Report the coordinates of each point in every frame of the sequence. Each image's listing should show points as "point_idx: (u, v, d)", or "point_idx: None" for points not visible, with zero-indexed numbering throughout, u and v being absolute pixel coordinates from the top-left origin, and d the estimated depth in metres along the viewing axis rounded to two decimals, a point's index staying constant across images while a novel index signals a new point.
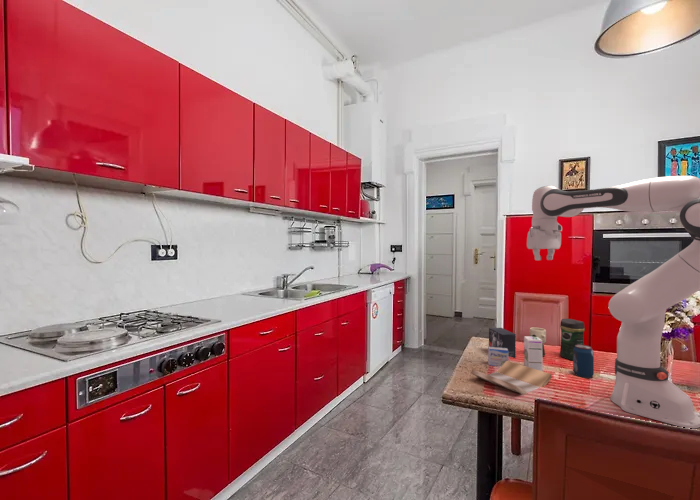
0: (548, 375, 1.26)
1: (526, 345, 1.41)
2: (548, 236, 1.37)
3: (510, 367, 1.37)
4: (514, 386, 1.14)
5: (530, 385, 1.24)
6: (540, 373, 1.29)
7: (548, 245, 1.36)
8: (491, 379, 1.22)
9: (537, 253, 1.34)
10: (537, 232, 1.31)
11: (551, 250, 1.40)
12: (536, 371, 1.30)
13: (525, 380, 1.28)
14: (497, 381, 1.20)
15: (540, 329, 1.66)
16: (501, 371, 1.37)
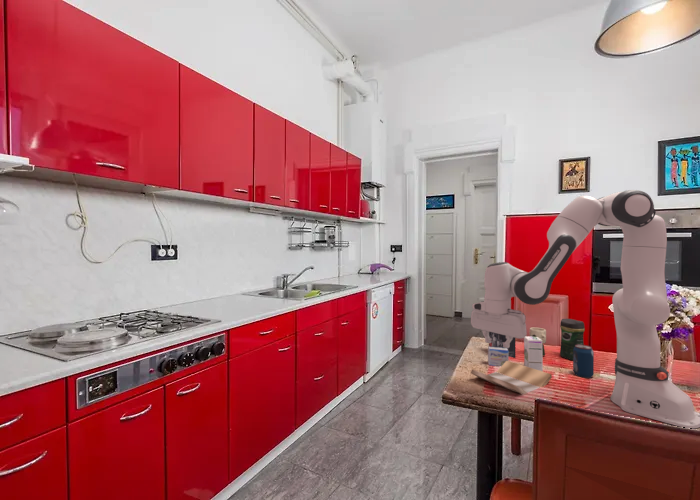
0: (548, 375, 1.26)
1: (526, 345, 1.41)
2: None
3: (510, 367, 1.37)
4: (514, 386, 1.14)
5: (530, 385, 1.24)
6: (540, 373, 1.29)
7: None
8: (491, 379, 1.22)
9: (510, 340, 1.17)
10: None
11: (488, 331, 1.25)
12: (536, 371, 1.30)
13: (525, 380, 1.28)
14: (497, 381, 1.20)
15: (540, 329, 1.66)
16: (501, 371, 1.37)
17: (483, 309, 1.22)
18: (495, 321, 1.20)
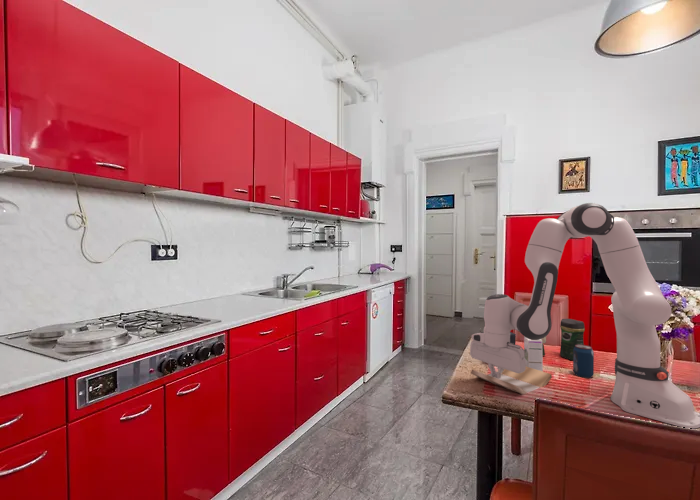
0: (548, 375, 1.26)
1: (526, 345, 1.41)
2: None
3: None
4: (514, 386, 1.14)
5: (530, 385, 1.24)
6: (540, 373, 1.29)
7: None
8: (491, 379, 1.22)
9: (502, 371, 1.20)
10: None
11: (494, 365, 1.23)
12: (536, 371, 1.30)
13: (525, 380, 1.28)
14: (497, 381, 1.20)
15: None
16: None
17: (482, 341, 1.22)
18: (494, 354, 1.20)
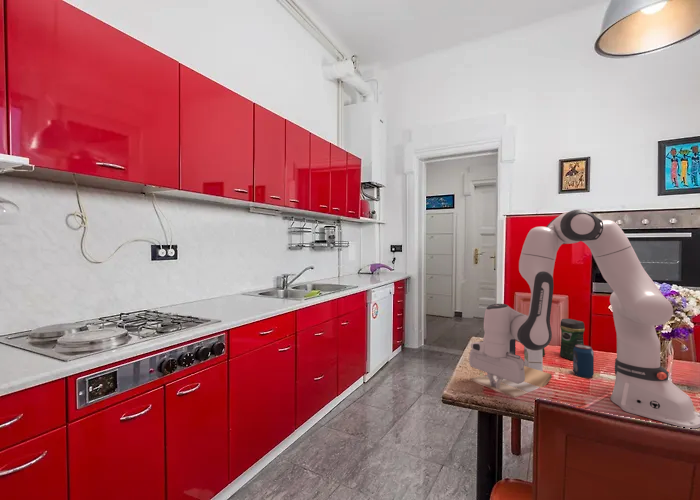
0: (548, 375, 1.26)
1: None
2: None
3: None
4: (513, 397, 1.14)
5: (530, 385, 1.24)
6: (540, 373, 1.29)
7: None
8: None
9: (501, 381, 1.20)
10: None
11: (493, 374, 1.23)
12: (536, 371, 1.30)
13: (525, 380, 1.28)
14: None
15: None
16: None
17: (482, 350, 1.22)
18: (493, 363, 1.20)
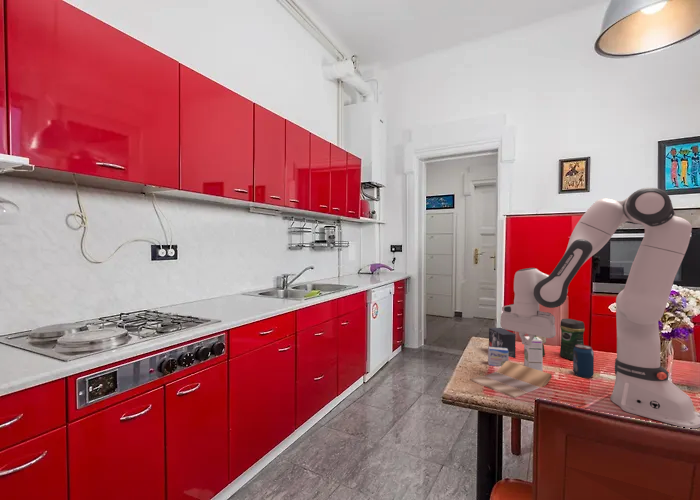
0: (548, 375, 1.26)
1: (526, 345, 1.41)
2: None
3: (510, 367, 1.37)
4: (513, 397, 1.14)
5: (530, 385, 1.24)
6: (540, 373, 1.29)
7: None
8: None
9: (532, 338, 1.30)
10: None
11: (524, 333, 1.32)
12: (536, 371, 1.30)
13: (525, 380, 1.28)
14: None
15: None
16: (501, 371, 1.37)
17: (513, 311, 1.31)
18: (525, 323, 1.30)
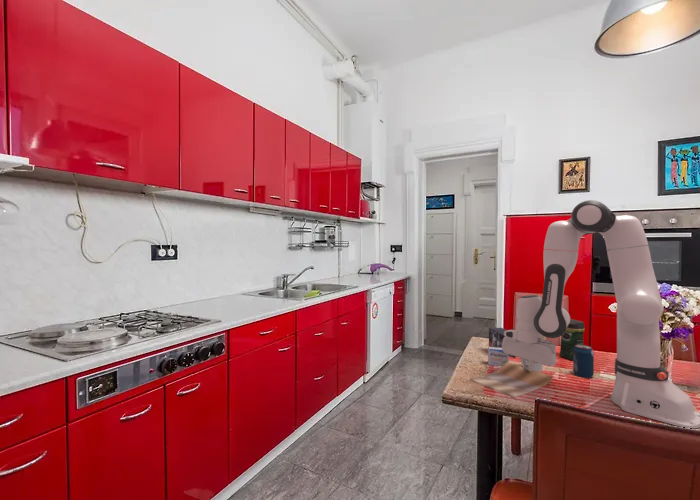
0: (548, 377, 1.26)
1: None
2: None
3: (510, 368, 1.37)
4: (513, 397, 1.14)
5: (530, 385, 1.24)
6: (540, 374, 1.29)
7: None
8: None
9: (533, 365, 1.31)
10: None
11: (525, 359, 1.34)
12: (536, 372, 1.30)
13: (525, 380, 1.28)
14: None
15: None
16: (501, 371, 1.37)
17: (515, 337, 1.33)
18: (526, 349, 1.32)
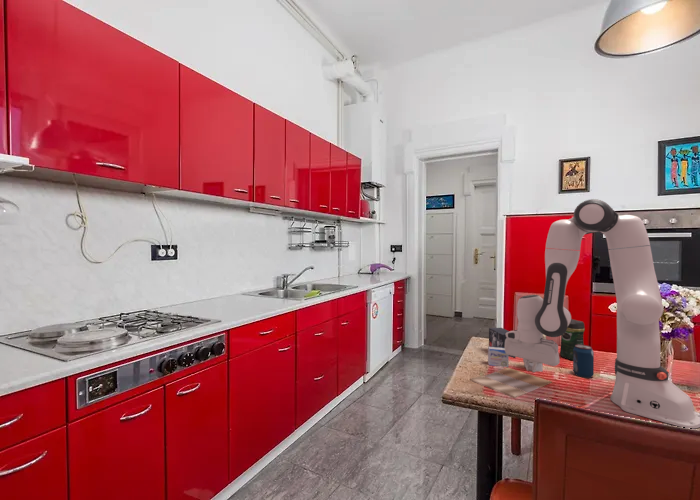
0: (549, 382, 1.27)
1: None
2: None
3: (511, 371, 1.37)
4: (513, 397, 1.14)
5: (530, 385, 1.24)
6: (541, 379, 1.29)
7: None
8: None
9: (536, 365, 1.30)
10: None
11: (528, 360, 1.33)
12: (537, 377, 1.31)
13: (525, 381, 1.28)
14: None
15: None
16: (501, 372, 1.37)
17: (517, 338, 1.33)
18: (528, 349, 1.31)
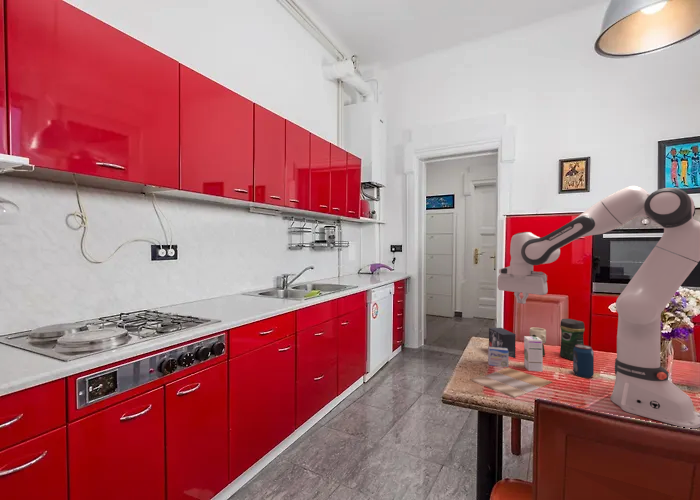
0: (549, 382, 1.27)
1: (526, 345, 1.41)
2: None
3: (511, 371, 1.37)
4: (513, 397, 1.14)
5: (530, 385, 1.24)
6: (541, 379, 1.29)
7: None
8: None
9: (526, 297, 1.40)
10: None
11: (519, 293, 1.43)
12: (537, 377, 1.31)
13: (525, 381, 1.28)
14: None
15: (540, 329, 1.66)
16: (501, 372, 1.37)
17: (509, 272, 1.42)
18: (519, 282, 1.41)
